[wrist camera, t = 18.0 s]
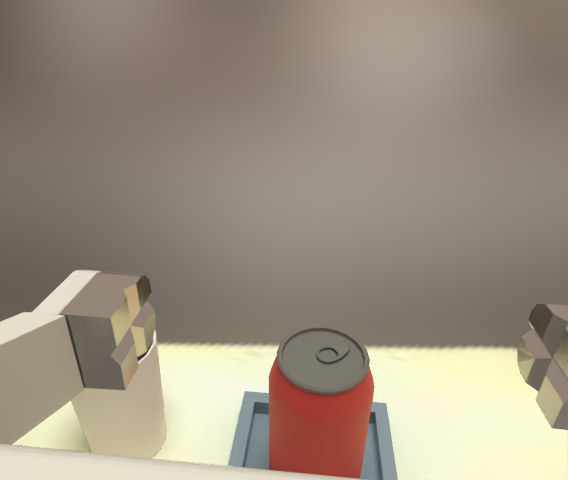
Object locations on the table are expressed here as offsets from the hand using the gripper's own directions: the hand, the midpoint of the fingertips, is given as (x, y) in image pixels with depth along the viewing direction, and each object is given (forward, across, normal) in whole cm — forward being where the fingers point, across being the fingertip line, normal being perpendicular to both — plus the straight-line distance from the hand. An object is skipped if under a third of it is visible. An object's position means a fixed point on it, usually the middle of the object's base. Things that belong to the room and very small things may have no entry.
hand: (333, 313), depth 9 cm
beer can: (+12, -1, +24) cm, 27 cm away
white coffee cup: (+14, +14, +25) cm, 32 cm away
